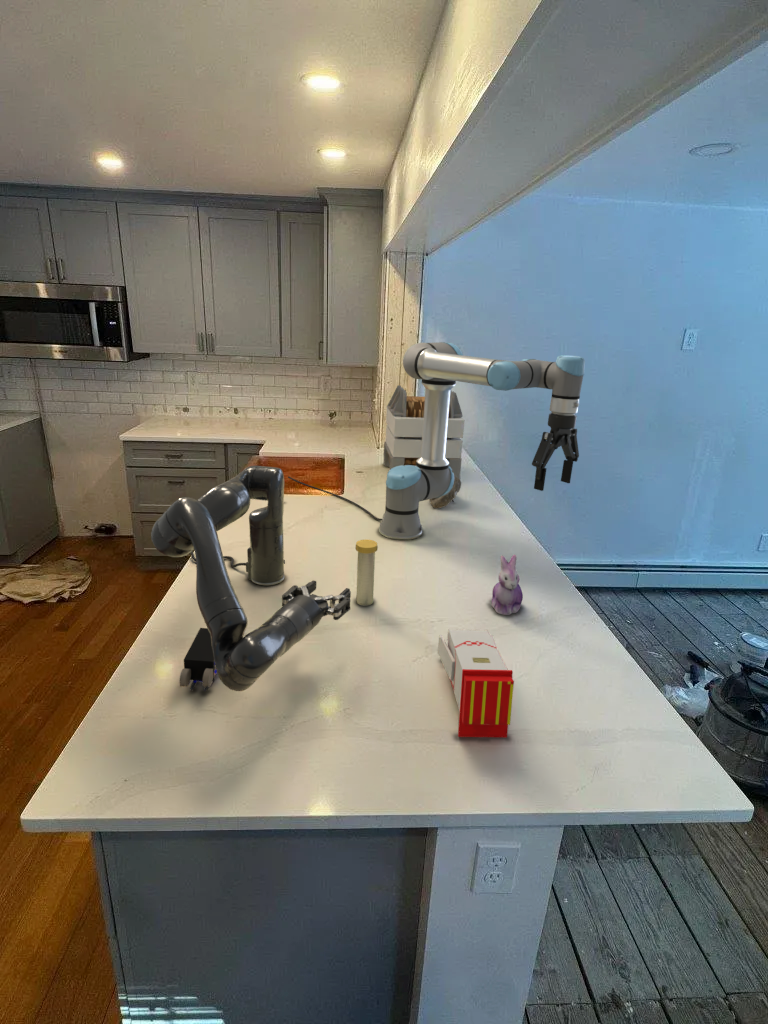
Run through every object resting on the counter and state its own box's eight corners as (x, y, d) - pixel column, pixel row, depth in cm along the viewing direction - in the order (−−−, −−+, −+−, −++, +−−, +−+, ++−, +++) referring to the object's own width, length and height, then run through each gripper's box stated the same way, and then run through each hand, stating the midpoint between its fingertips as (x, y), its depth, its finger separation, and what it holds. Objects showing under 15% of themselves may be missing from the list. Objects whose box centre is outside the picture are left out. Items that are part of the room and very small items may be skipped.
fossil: (425, 482, 245) (454, 464, 240) (438, 499, 248) (467, 481, 243) (424, 504, 225) (455, 484, 220) (438, 522, 228) (469, 503, 223)
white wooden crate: (382, 463, 289) (386, 382, 275) (445, 464, 293) (451, 384, 279) (390, 482, 257) (394, 392, 243) (460, 483, 261) (468, 394, 247)
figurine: (504, 619, 147) (511, 567, 142) (480, 601, 155) (486, 551, 150) (532, 612, 151) (540, 561, 146) (508, 595, 159) (514, 546, 154)
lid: (353, 552, 146) (353, 546, 145) (358, 544, 151) (358, 538, 150) (375, 554, 145) (375, 548, 144) (379, 546, 150) (379, 540, 149)
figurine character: (214, 702, 114) (231, 653, 127) (210, 673, 110) (228, 625, 124) (180, 702, 114) (200, 652, 127) (175, 673, 110) (197, 625, 124)
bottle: (354, 604, 151) (356, 547, 146) (358, 596, 155) (359, 540, 150) (371, 606, 151) (373, 549, 145) (374, 598, 155) (376, 542, 149)
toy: (488, 613, 130) (523, 677, 101) (484, 667, 133) (517, 744, 104) (435, 612, 130) (455, 676, 101) (432, 666, 133) (451, 743, 103)
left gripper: (265, 628, 119) (304, 596, 133) (325, 645, 113) (359, 609, 128) (263, 596, 116) (304, 567, 130) (325, 612, 111) (360, 579, 125)
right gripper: (548, 419, 148) (537, 496, 155) (598, 411, 163) (586, 482, 171) (525, 414, 153) (515, 489, 160) (575, 407, 169) (564, 476, 176)
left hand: (331, 588), depth 129 cm, fingers open, 8 cm apart
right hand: (552, 485), depth 166 cm, fingers open, 13 cm apart
